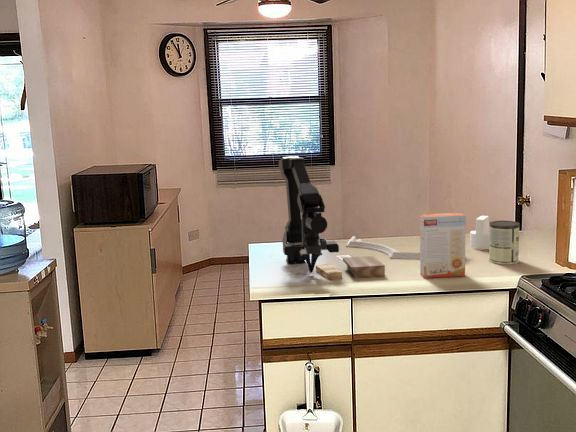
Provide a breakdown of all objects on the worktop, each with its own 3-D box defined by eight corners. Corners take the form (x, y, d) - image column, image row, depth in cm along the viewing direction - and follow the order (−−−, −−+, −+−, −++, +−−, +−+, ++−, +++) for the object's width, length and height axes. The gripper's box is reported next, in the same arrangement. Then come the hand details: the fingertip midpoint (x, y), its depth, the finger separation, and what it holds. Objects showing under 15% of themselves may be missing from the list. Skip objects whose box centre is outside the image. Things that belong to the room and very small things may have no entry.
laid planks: (351, 278, 206) (351, 267, 206) (342, 267, 220) (342, 257, 219) (384, 276, 208) (384, 265, 207) (374, 266, 221) (374, 255, 221)
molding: (428, 259, 231) (428, 252, 231) (405, 264, 225) (405, 256, 224) (356, 241, 266) (356, 234, 266) (334, 244, 260) (334, 238, 259)
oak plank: (315, 271, 217) (315, 265, 217) (329, 270, 219) (328, 263, 219) (328, 280, 206) (328, 273, 206) (342, 278, 208) (342, 272, 207)
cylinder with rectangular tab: (490, 250, 239) (491, 220, 237) (467, 248, 244) (467, 218, 242) (495, 245, 247) (496, 216, 245) (473, 243, 251) (474, 215, 249)
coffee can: (487, 257, 229) (488, 220, 226) (517, 258, 226) (518, 220, 224) (489, 264, 219) (490, 225, 217) (519, 265, 216) (521, 226, 214)
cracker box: (459, 272, 210) (461, 211, 206) (465, 276, 204) (466, 214, 200) (419, 273, 210) (419, 213, 206) (423, 278, 204) (424, 216, 200)
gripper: (285, 234, 200) (286, 280, 203) (341, 231, 202) (342, 276, 205) (281, 227, 211) (283, 271, 214) (335, 224, 213) (336, 268, 216)
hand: (311, 272), depth 212 cm, fingers closed
